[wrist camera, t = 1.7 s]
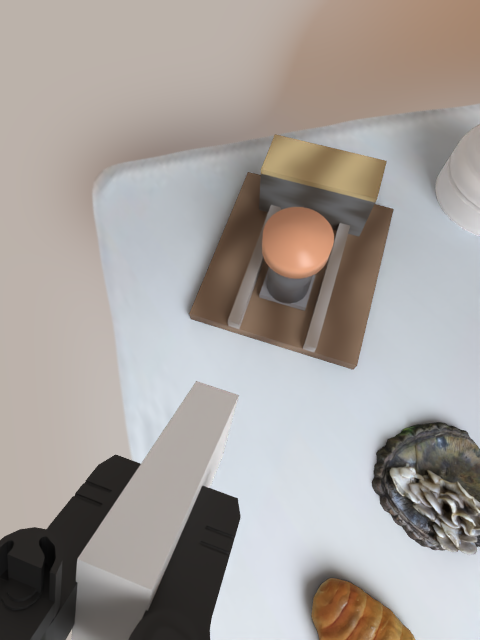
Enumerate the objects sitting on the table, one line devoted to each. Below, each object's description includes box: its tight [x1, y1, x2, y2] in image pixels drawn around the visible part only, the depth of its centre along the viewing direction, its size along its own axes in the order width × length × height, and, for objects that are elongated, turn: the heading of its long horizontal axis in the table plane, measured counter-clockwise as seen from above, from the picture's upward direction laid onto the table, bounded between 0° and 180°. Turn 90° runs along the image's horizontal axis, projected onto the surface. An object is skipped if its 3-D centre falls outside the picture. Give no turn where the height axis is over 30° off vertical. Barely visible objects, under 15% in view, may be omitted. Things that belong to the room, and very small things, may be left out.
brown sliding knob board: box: [189, 134, 393, 369], centre depth 42 cm, size 18×20×8 cm
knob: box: [259, 207, 334, 311], centre depth 38 cm, size 6×6×10 cm
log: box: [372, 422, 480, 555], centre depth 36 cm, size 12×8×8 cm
